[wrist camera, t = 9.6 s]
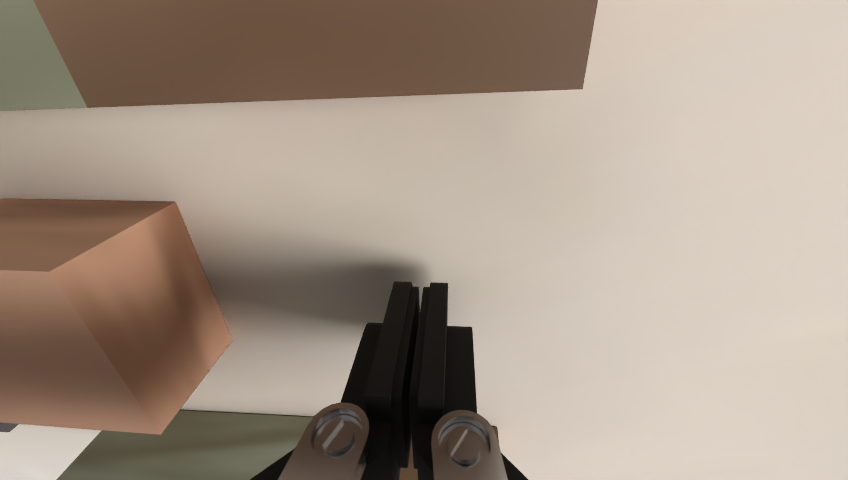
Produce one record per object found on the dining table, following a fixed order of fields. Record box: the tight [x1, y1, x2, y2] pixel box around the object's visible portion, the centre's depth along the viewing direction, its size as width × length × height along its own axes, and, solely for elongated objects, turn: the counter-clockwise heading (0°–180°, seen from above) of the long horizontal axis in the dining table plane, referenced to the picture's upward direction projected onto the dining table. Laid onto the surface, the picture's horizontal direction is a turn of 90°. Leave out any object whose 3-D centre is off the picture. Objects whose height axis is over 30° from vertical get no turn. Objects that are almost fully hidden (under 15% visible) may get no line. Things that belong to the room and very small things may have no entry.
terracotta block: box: [0, 198, 232, 435], centre depth 11 cm, size 6×6×4 cm
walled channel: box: [0, 0, 598, 480], centre depth 11 cm, size 17×18×4 cm
